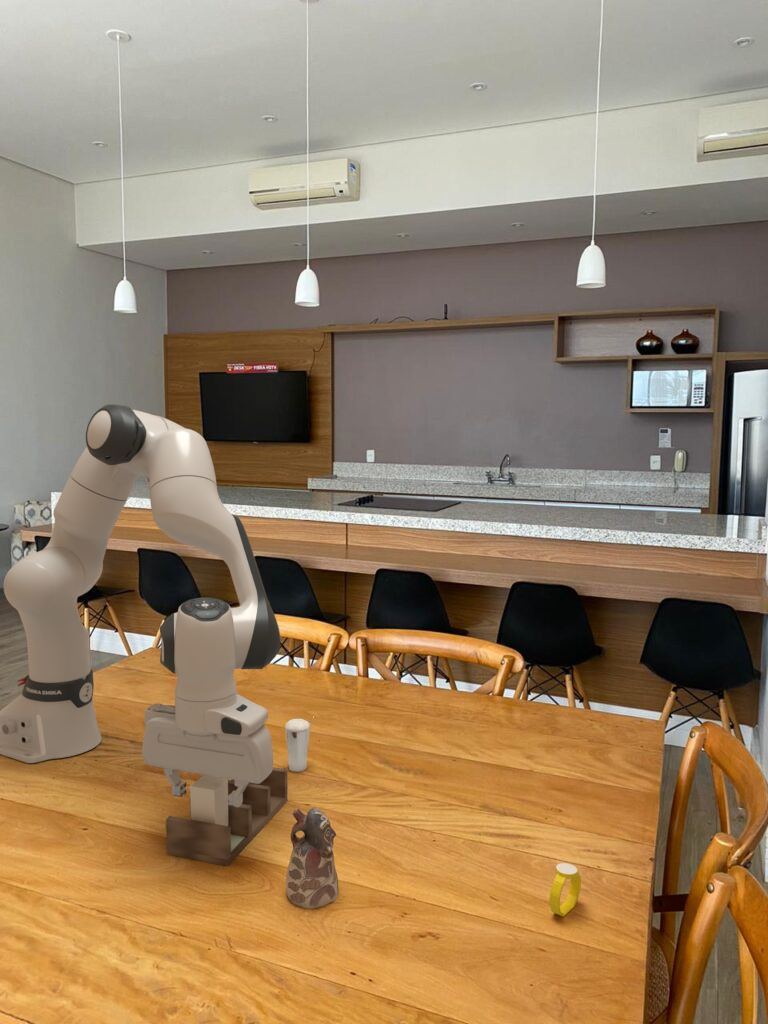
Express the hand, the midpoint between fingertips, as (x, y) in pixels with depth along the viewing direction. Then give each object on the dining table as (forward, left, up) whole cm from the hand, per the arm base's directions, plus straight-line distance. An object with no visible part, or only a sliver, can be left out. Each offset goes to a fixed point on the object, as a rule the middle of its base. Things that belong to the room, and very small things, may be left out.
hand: (207, 800), depth 119 cm
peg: (0, 0, -6) cm, 6 cm away
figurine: (+19, -6, -8) cm, 21 cm away
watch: (+52, +1, -8) cm, 53 cm away
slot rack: (0, +7, -8) cm, 10 cm away
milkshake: (+2, +29, -8) cm, 30 cm away
